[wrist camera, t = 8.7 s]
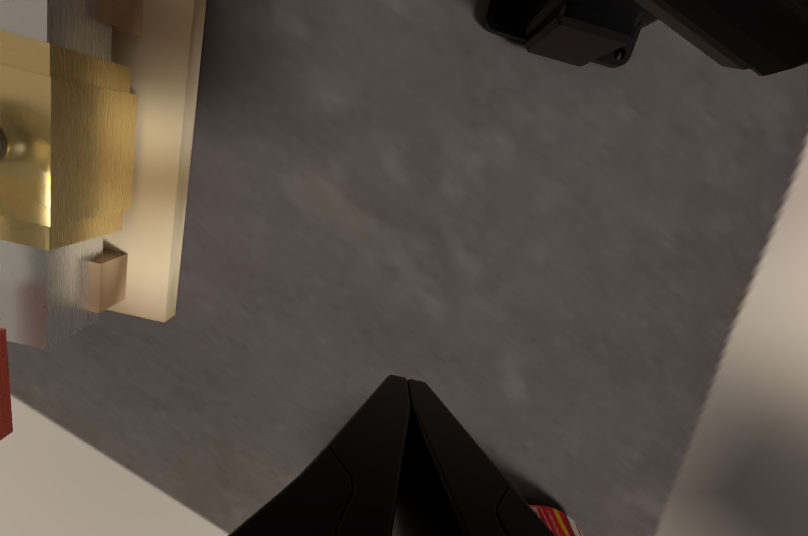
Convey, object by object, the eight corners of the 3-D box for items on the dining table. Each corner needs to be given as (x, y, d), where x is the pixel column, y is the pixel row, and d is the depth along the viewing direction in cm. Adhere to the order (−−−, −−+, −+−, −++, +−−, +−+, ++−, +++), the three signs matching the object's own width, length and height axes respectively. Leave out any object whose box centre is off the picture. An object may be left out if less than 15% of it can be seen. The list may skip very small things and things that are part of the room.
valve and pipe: (29, -88, 15) (-163, -209, 10) (147, -54, 16) (18, -155, 10) (32, 296, 20) (-101, 348, 14) (124, 316, 20) (26, 375, 15)
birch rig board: (12, -83, 16) (-65, -128, 14) (209, -27, 17) (172, -60, 14) (18, 279, 21) (-39, 298, 18) (175, 314, 21) (142, 338, 19)
